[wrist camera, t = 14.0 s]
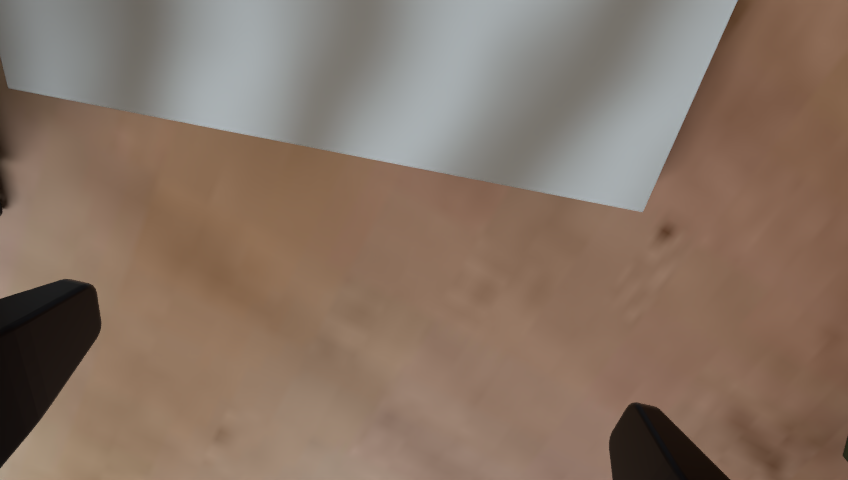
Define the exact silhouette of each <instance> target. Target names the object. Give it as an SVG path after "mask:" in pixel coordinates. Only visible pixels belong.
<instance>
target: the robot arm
mask: <svg viewBox="0 0 848 480" xmlns="http://www.w3.org/2000/svg"><path fill="white" fill-rule="evenodd" d="M1 214H2V206H1V203H0V216H1ZM100 329H101V317H100V310H99V304H98V298H97V292H96V289H95V288H94V286H93V285H91V284H89V283H85V282H80V281H76V280H71V279H63V280H59V281H56V282H53V283H50V284H46V285H43V286H40V287H37V288H34V289H30V290H27V291H24V292H21V293H18V294H14V295H11V296H8V297H5V298H1V299H0V468H1V467H2V466H3V464H4V463H5V462H6V461H7V460H8V458H9V457H10V456H11V455H12V454H13V452H14V451H15V450H16V449H17V448H18V447H19V445H20V444H21V443H22V442H23V441H24V439H25V438H26V437H27V436H28V435H29V433H30V432H31V431H32V430H33V428H34V427H35V426H36V425H37V423H38V422H39V421H40V419H41V418H42V417H43V415H44V414H45V413H46V411H47V410H48V409H49V407H50V406H51V404H52V403H53V401H54V400H55V398H56V397H57V396H58V394H59V393H60V391H61V390H62V388H63V387H64V385H65V384H66V382H67V381H68V380H69V378H70V377H71V375H72V374H73V372H74V371H75V369H76V368H77V366H78V365H79V364H80V362H81V361H82V359H83V358H84V356H85V355H86V353H87V352H88V350H89V349H90V347H91V346H92V345H93V343H94V342H95V340H96V339H97V337H98V335H99V333H100ZM609 451H610V460H611V469H612V478H613V480H730V479H729V478H728V477H727V476H726V475H725V474H724V473H723V472H722V471H721V470H720V469H719V468H718V467H717V466H716V465H715V464H714V463H713V462H712V461H711V460H710V459H709V458H708V457H707V456H706V455H705V454H704V453H703V452H702V451H701V450H700V449H699V448H698V447H697V446H696V445H695V444H694V443H693V442H692V441H691V440H690V439H689V438H688V437H687V436H686V435H685V434H684V433H683V432H682V431H681V430H680V429H679V428H678V427H677V426H676V425H675V424H674V423H673V422H672V421H671V420H670V419H669V418H668V417H667V416H666V415H665V414H664V413H663V412H662V411H661V410H660V409H658V408H657V407H654V406H651V405H646V404H641V403H631V404H630V405H628V407H627V408H626V410H625V411H624V413H623V415H622V416H621V418H620V420H619V421H618V423H617V425H616V426H615V428H614V429H613V431H612V433H611V436H610V440H609Z"/></svg>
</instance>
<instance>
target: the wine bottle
mask: <svg viewBox="0 0 848 480" xmlns="http://www.w3.org/2000/svg"><path fill="white" fill-rule="evenodd" d="M843 457H844V458H845V459H846V460H847V462H848V438H847V442H846V445H845V449H844V453H843Z"/></svg>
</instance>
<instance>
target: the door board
mask: <svg viewBox="0 0 848 480" xmlns="http://www.w3.org/2000/svg"><path fill="white" fill-rule="evenodd" d="M736 3H737V0H0V57H1V61H2V65H3V69H4V73H5V77H6V81H7V85H8V88H10V89H15V90H21V91H26V92H31V93H36V94H41V95H46V96H51V97H56V98H61V99H67V100H72V101H77V102H82V103H87V104H92V105H97V106H102V107H108V108H113V109H118V110H123V111H128V112H133V113H138V114H143V115H148V116H154V117H159V118H164V119H169V120H174V121H179V122H184V123H189V124H194V125H200V126H205V127H210V128H215V129H220V130H225V131H230V132H235V133H241V134H246V135H251V136H256V137H261V138H266V139H271V140H276V141H281V142H287V143H292V144H297V145H302V146H307V147H312V148H317V149H322V150H328V151H333V152H338V153H343V154H348V155H353V156H358V157H363V158H368V159H374V160H379V161H384V162H389V163H394V164H399V165H404V166H409V167H414V168H420V169H425V170H430V171H435V172H440V173H445V174H450V175H455V176H461V177H466V178H471V179H476V180H481V181H486V182H491V183H496V184H501V185H507V186H512V187H517V188H522V189H527V190H532V191H537V192H542V193H548V194H553V195H558V196H563V197H568V198H573V199H578V200H583V201H588V202H594V203H599V204H604V205H609V206H614V207H619V208H624V209H629V210H634V211H640V212H643V210H644V208H645V206H646V204H647V201H648V199H649V197H650V195H651V192H652V190H653V188H654V186H655V184H656V181H657V179H658V177H659V175H660V172H661V170H662V168H663V166H664V163H665V161H666V159H667V157H668V154H669V152H670V150H671V148H672V146H673V143H674V141H675V139H676V137H677V134H678V132H679V130H680V128H681V125H682V123H683V121H684V119H685V117H686V114H687V112H688V110H689V108H690V105H691V103H692V101H693V99H694V96H695V94H696V92H697V90H698V88H699V85H700V83H701V81H702V79H703V76H704V74H705V72H706V70H707V67H708V65H709V63H710V61H711V59H712V56H713V54H714V52H715V50H716V47H717V45H718V43H719V41H720V38H721V36H722V34H723V32H724V29H725V27H726V25H727V23H728V21H729V18H730V16H731V14H732V12H733V9H734V7H735V5H736Z"/></svg>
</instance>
